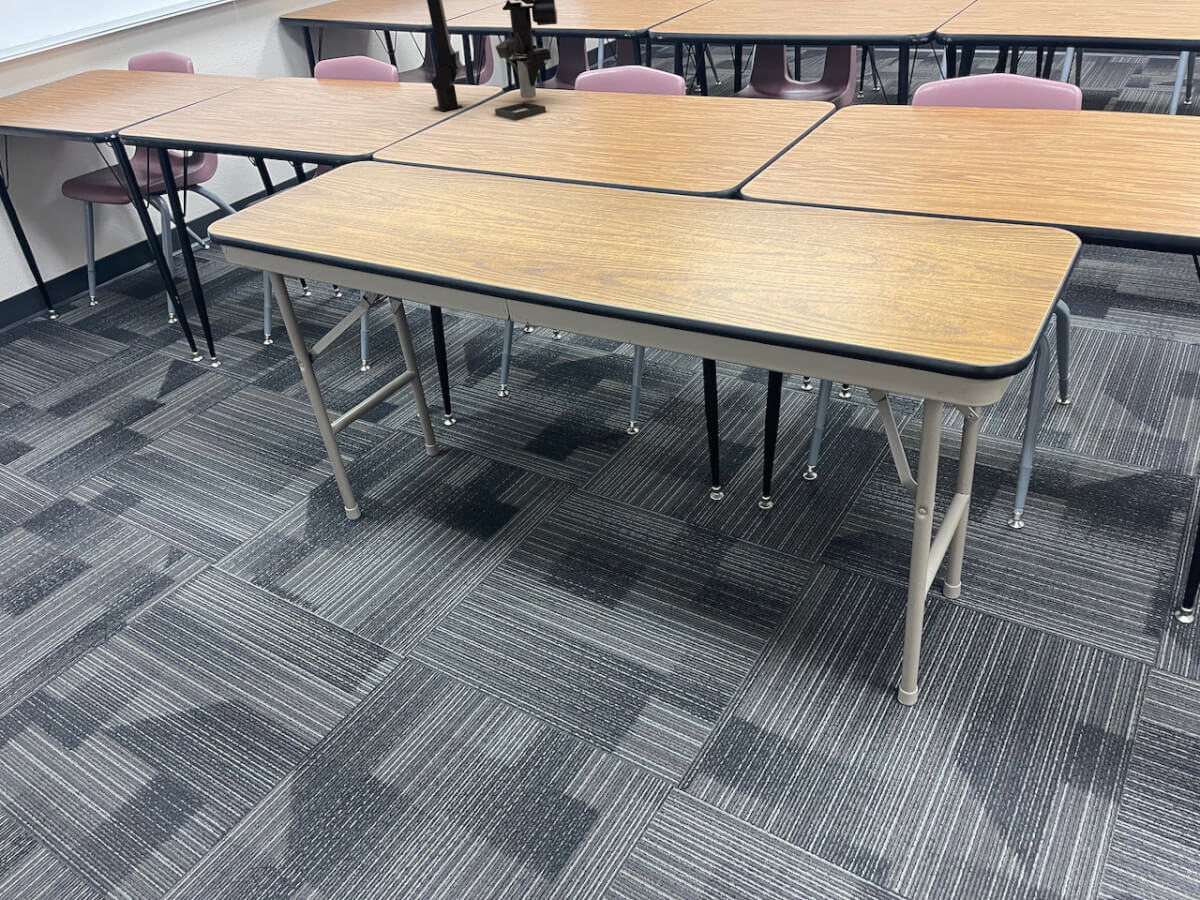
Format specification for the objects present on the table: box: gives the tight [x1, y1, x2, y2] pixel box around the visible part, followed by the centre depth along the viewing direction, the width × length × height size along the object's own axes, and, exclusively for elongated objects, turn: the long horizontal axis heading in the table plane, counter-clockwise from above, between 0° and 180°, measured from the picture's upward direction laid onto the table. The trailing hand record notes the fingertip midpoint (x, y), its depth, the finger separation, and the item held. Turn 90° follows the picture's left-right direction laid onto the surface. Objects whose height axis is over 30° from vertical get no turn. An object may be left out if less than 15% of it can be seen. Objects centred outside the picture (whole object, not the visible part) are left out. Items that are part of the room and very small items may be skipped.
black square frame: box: [494, 101, 547, 121], centre depth 241 cm, size 10×10×2 cm
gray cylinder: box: [517, 58, 537, 99], centre depth 249 cm, size 4×4×10 cm
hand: (527, 85), depth 250 cm, fingers closed on gray cylinder, 4 cm apart
